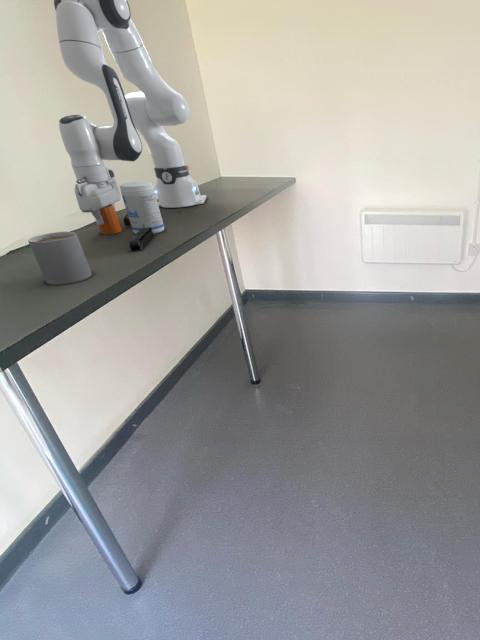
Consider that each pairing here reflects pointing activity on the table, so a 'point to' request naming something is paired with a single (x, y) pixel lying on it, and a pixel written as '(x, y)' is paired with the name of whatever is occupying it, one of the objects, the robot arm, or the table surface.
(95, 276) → the table surface
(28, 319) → the table surface
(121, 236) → the table surface
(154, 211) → the supplement tub
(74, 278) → the coffee mug
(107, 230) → the cup
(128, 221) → the sunglasses case
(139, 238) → the black bar
